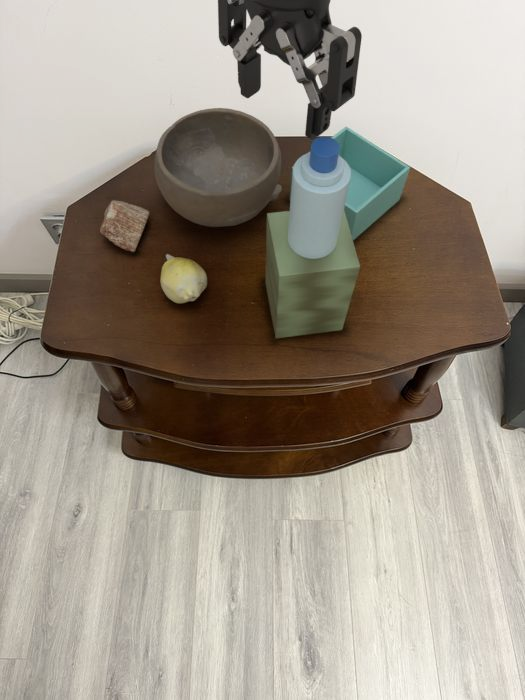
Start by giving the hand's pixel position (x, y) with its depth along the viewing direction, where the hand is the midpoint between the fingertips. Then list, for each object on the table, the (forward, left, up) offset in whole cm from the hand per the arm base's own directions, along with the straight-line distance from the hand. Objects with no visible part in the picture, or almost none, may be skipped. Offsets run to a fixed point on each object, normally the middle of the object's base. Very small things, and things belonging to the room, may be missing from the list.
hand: (281, 113), depth 52 cm
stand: (-6, +3, -26) cm, 27 cm away
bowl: (+14, -7, -26) cm, 30 cm away
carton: (-2, -17, -26) cm, 31 cm away
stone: (+22, +6, -26) cm, 34 cm away
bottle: (-6, +3, -12) cm, 14 cm away
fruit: (+10, +9, -26) cm, 29 cm away
